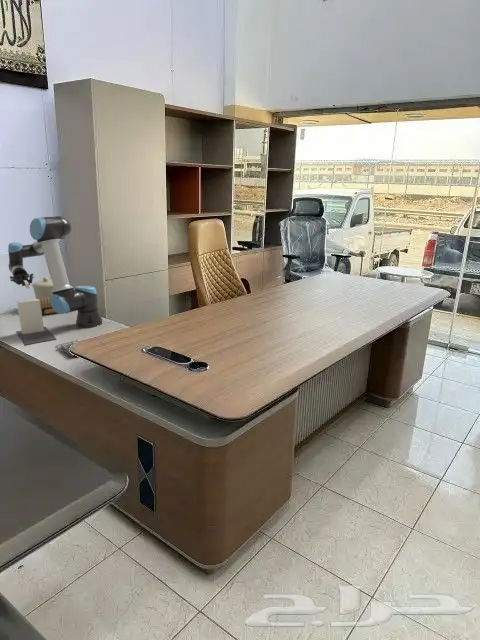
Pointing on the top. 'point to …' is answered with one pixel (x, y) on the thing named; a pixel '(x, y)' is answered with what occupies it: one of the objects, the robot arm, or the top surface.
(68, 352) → the graphics card
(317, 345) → the top surface
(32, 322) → the book
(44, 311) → the ammunition clip
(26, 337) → the desk pad
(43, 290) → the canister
